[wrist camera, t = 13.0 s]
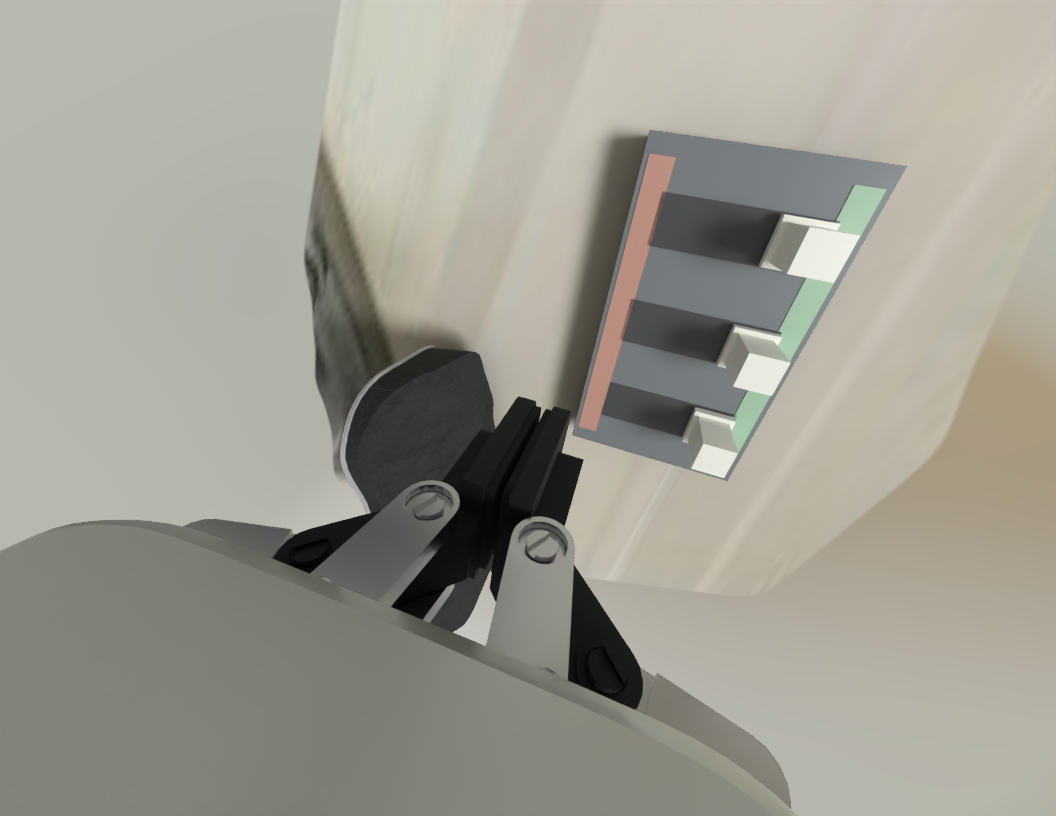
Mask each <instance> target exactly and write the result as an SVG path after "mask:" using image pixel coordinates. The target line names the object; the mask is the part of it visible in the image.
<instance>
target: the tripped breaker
mask: <svg viewBox="0 0 1056 816" xmlns="http://www.w3.org/2000/svg"><path fill="white" fill-rule="evenodd" d="M781 339H782V337H781V336H780V334H776V333H772V332H767V331H763V330H758V329H754V328H749V327H745V326H740V325H736V324H733V327H732V329H731V331H730V333H729V336H728V338H727V340H726V342H725V344H724V347H723V349H722V351H721V353H720V356H719V358H718V360H717V362H716V363H717V366H718V367H722V368H726V369H727V372H728V374H729V377H730V380H731V382H732V385H733V387H737V388H741V389H745V390H749V391H753V392H757V393H761V394H765V395H769V396H772V395H773V393H774V391H775V390H776V388H777V386H778V384H779V383H780V381H781V379H782V377H783V376H784V374H785V372H786V370H787V368H788V367H789V365H790V361H789V360H788V359H787V357H786V356H785V355H784V353H783V352H782V351H781V349H780V348H779V347H778V344H779V342H780V341H781Z"/></svg>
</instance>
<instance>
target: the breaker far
mask: <svg viewBox="0 0 1056 816" xmlns="http://www.w3.org/2000/svg"><path fill="white" fill-rule="evenodd" d="M735 423H736V420H735V417H731V416H727V415H724V414H720V413H716V412H712V411H709V410H705V409H701V408H697V407H695V409H694V411H693V413H692V415H691V417H690V420H689V422H688V424H687V426H686V429H685V431H684V433H683V435H682V442H685V443H688V444H689V454H690V463H691V469H694V470H697V471H701V472H704V473H708V474H711V475H714V476H718V477H721V478H724V477H725V476H726V474H727V472H728V470H729V469H730V467H731V465H732V463H733V461H734V460H735V458H736V456H737V454H738V452H737V448H736V445H735V442H734V438H733V435H732V431H731V430H732V429H733V427H734V425H735Z"/></svg>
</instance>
